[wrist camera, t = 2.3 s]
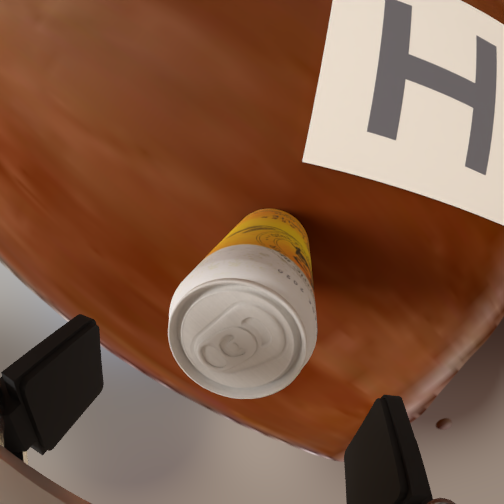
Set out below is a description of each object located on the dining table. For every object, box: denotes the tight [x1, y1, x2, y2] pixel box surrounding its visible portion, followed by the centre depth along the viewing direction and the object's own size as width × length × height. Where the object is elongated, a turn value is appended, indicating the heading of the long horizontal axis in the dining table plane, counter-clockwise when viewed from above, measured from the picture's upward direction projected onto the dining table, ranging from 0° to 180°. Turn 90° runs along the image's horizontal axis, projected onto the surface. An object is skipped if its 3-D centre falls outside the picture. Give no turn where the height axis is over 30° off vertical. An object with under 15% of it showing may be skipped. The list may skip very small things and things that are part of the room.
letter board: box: [302, 0, 504, 226], centre depth 19 cm, size 20×20×1 cm
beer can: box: [168, 209, 317, 399], centre depth 18 cm, size 6×6×15 cm
